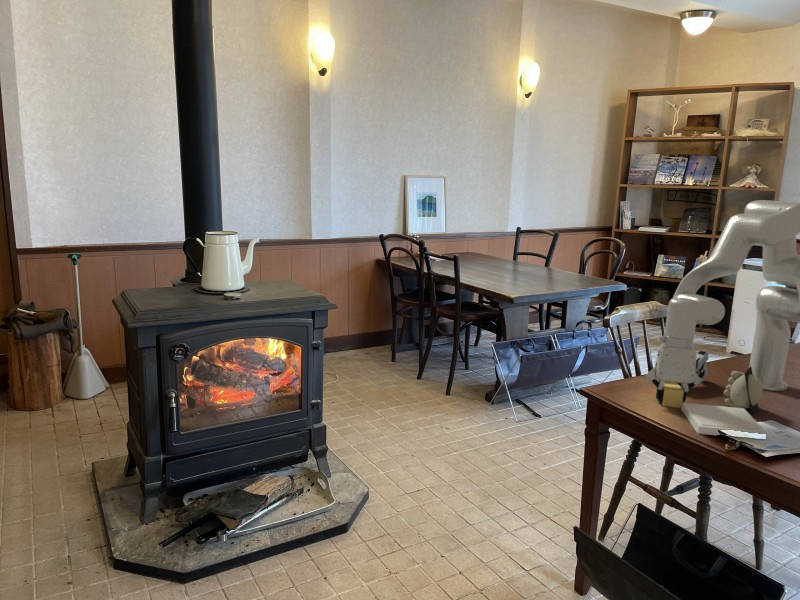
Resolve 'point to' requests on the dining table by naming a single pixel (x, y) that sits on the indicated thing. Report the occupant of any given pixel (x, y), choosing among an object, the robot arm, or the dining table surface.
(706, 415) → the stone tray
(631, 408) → the dining table surface
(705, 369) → the toy gun
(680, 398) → the mustard cube
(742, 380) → the decorative object
